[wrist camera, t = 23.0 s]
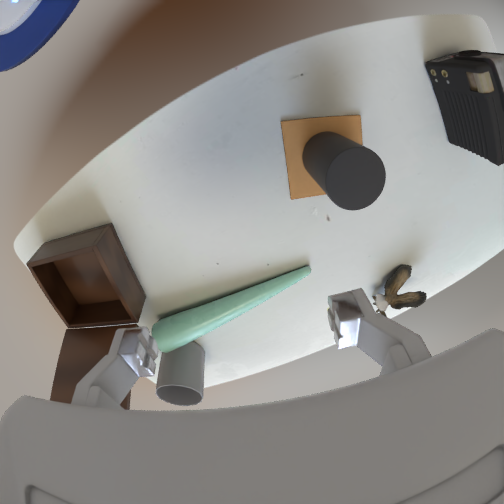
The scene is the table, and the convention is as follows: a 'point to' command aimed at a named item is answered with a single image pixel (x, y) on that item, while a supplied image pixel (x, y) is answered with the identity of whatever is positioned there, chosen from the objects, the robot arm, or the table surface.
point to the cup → (182, 375)
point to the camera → (472, 100)
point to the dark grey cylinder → (344, 170)
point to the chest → (89, 279)
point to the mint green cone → (218, 312)
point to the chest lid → (82, 359)
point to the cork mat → (296, 139)
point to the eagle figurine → (392, 288)
